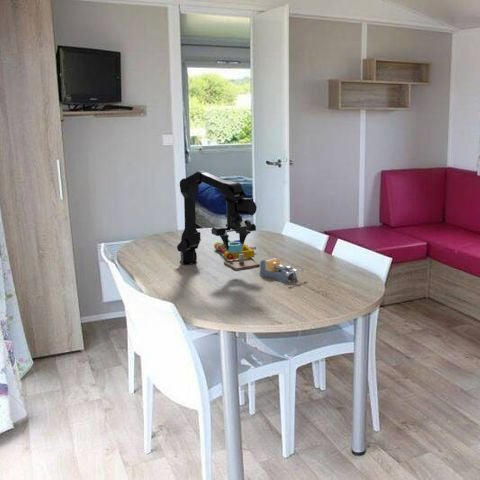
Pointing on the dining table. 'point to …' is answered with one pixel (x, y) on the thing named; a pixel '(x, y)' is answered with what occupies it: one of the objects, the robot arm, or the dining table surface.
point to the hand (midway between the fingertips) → (234, 248)
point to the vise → (277, 270)
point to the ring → (235, 247)
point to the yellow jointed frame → (229, 256)
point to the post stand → (241, 263)
